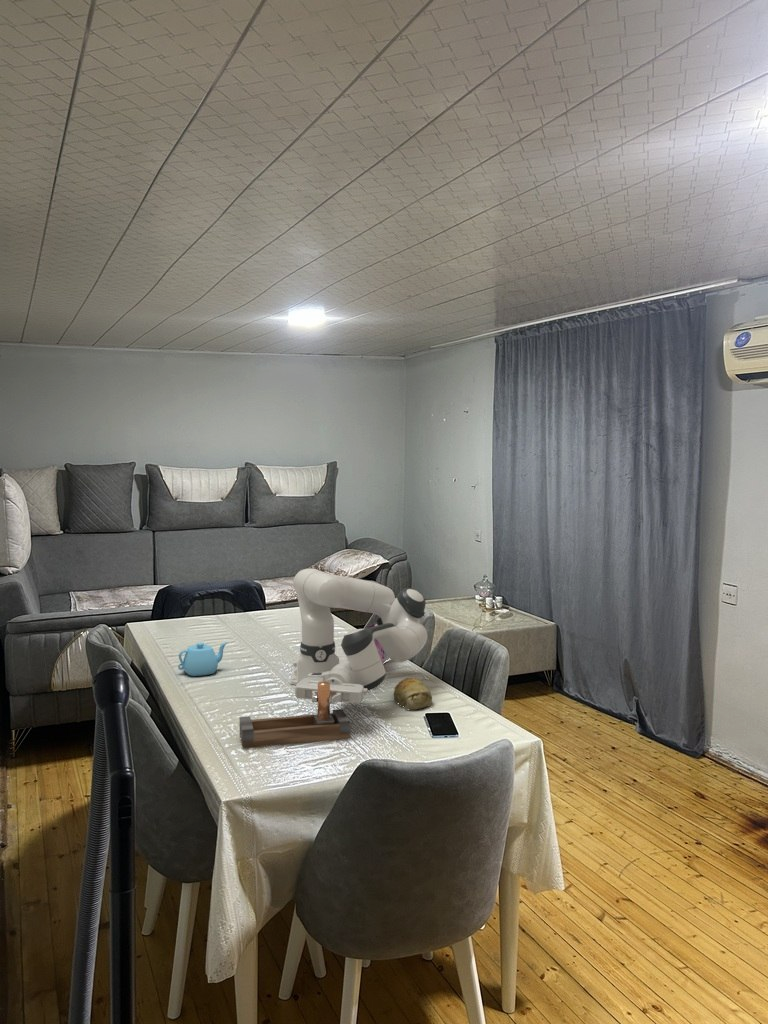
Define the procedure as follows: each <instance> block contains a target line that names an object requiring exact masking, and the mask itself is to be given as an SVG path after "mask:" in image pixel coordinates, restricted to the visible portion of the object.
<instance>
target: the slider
mask: <svg viewBox="0 0 768 1024" xmlns="http://www.w3.org/2000/svg"><path fill="white" fill-rule="evenodd" d="M329 697H330V683H329V682H325V681H323V682H319V683H318V702H317V714H312V715H313V725H326V724H334V719H333V717H332V715H331V714H330V713H331V710H330V709H331V704H329Z"/></svg>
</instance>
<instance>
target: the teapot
mask: <svg viewBox="0 0 768 1024" xmlns="http://www.w3.org/2000/svg"><path fill="white" fill-rule="evenodd" d="M227 644H229V641H227V642H222V643H221V644H220V646H219V649H218V653H217V654H216V653H215V650H214V648H213V646H211V645H210V644H205V643H203V642H196V644H194V645H190V646H188V647H187V649H182V650H181V651H179V653H178V659H179V662H180V663H179V664H178V666H177V669H178V670H180V671H184V672H185V673H186V674H187V675H188V676H192V677H199V676H207V675H213V674H214V673H216V671H217V670H218V667H219V663H220V662H221V661H222V660H223V656H224V648H225V646H226V645H227ZM183 654H184V656H183V659H182V655H183Z"/></svg>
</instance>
